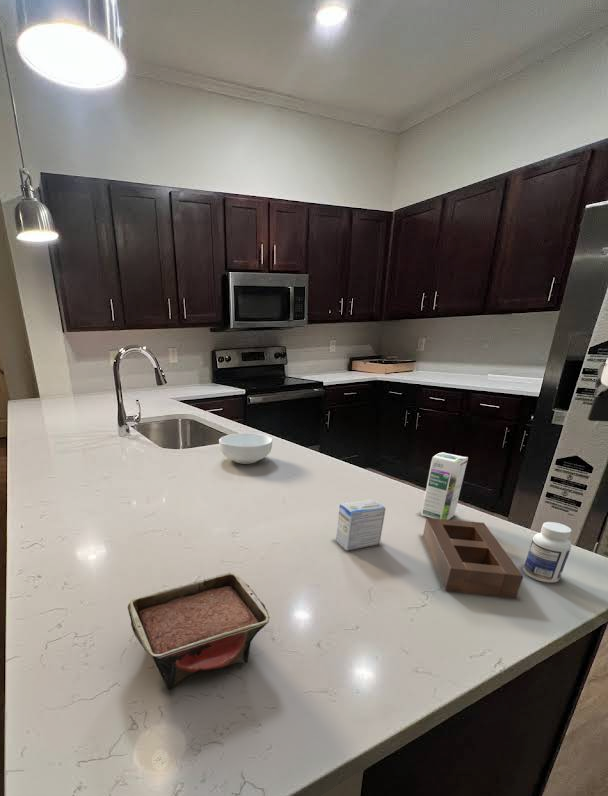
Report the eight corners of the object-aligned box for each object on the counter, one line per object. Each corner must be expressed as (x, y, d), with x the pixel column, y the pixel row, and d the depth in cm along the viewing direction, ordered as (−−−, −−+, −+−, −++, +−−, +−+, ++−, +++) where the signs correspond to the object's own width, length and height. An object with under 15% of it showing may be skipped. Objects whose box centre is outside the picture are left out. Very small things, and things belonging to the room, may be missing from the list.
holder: (478, 542, 86) (483, 522, 84) (515, 598, 69) (523, 576, 67) (422, 536, 88) (426, 517, 87) (445, 590, 71) (450, 568, 70)
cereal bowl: (278, 455, 139) (279, 435, 137) (261, 471, 126) (262, 449, 123) (231, 450, 146) (231, 430, 143) (210, 464, 132) (210, 442, 129)
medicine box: (367, 535, 89) (372, 498, 86) (380, 545, 85) (386, 506, 82) (334, 541, 87) (338, 503, 84) (346, 551, 83) (351, 512, 80)
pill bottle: (540, 565, 78) (556, 518, 74) (566, 581, 73) (585, 532, 69) (515, 568, 77) (530, 521, 73) (540, 585, 72) (557, 535, 69)
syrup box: (419, 515, 98) (431, 456, 92) (430, 508, 101) (442, 450, 95) (445, 523, 94) (458, 462, 88) (455, 515, 97) (469, 456, 92)
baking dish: (269, 681, 57) (280, 616, 54) (137, 705, 50) (141, 633, 47) (231, 621, 69) (238, 566, 67) (121, 634, 63) (124, 574, 60)
